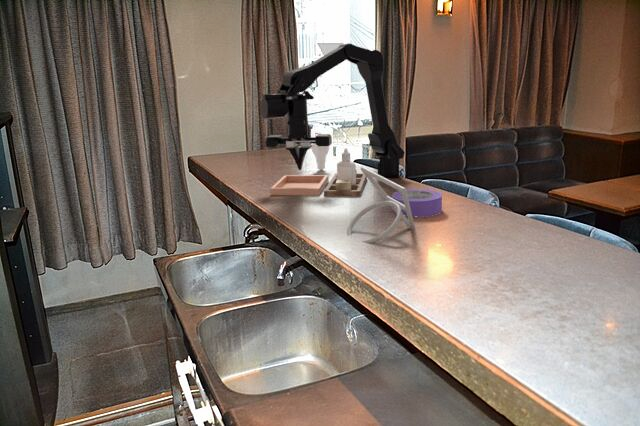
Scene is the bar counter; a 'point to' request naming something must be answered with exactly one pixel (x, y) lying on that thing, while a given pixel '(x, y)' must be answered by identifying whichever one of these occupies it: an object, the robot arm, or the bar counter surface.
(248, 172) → the bar counter surface
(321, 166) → the lightbulb
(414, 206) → the tape roll
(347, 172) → the eye dropper bottle
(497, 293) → the bar counter surface
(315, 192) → the tray
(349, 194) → the frame
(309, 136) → the robot arm
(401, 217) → the wire frame
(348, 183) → the block
